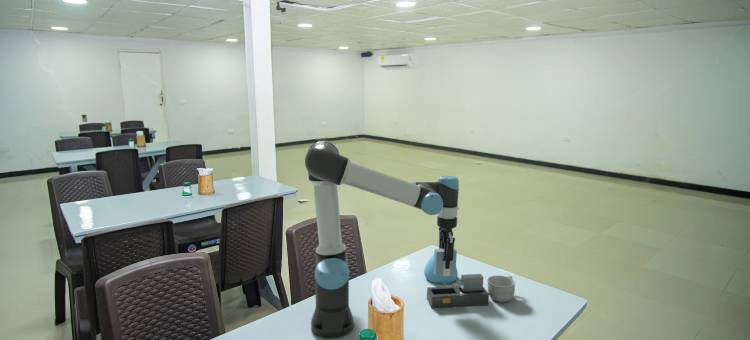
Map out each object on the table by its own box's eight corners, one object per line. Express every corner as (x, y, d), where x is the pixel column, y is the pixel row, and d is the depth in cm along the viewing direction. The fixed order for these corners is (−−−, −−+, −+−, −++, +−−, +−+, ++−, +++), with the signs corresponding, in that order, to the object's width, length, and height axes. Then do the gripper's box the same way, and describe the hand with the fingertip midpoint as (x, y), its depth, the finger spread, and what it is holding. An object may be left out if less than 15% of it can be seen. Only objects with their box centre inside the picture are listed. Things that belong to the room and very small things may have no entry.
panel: (435, 276, 159) (436, 251, 157) (433, 272, 162) (434, 248, 160) (455, 275, 160) (456, 251, 158) (453, 271, 163) (454, 248, 161)
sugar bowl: (422, 270, 193) (423, 247, 191) (454, 271, 193) (455, 248, 191) (425, 285, 179) (426, 260, 176) (459, 286, 178) (461, 261, 176)
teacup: (501, 307, 160) (503, 289, 159) (480, 296, 169) (481, 278, 168) (524, 298, 168) (526, 280, 167) (503, 287, 177) (504, 270, 175)
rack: (431, 309, 159) (432, 282, 157) (426, 298, 167) (427, 273, 164) (488, 306, 162) (490, 280, 160) (481, 296, 169) (482, 271, 167)
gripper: (463, 222, 149) (460, 282, 154) (450, 209, 165) (448, 264, 170) (443, 223, 148) (441, 283, 153) (432, 210, 164) (430, 265, 169)
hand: (444, 273), depth 161 cm, fingers closed on panel, 3 cm apart
